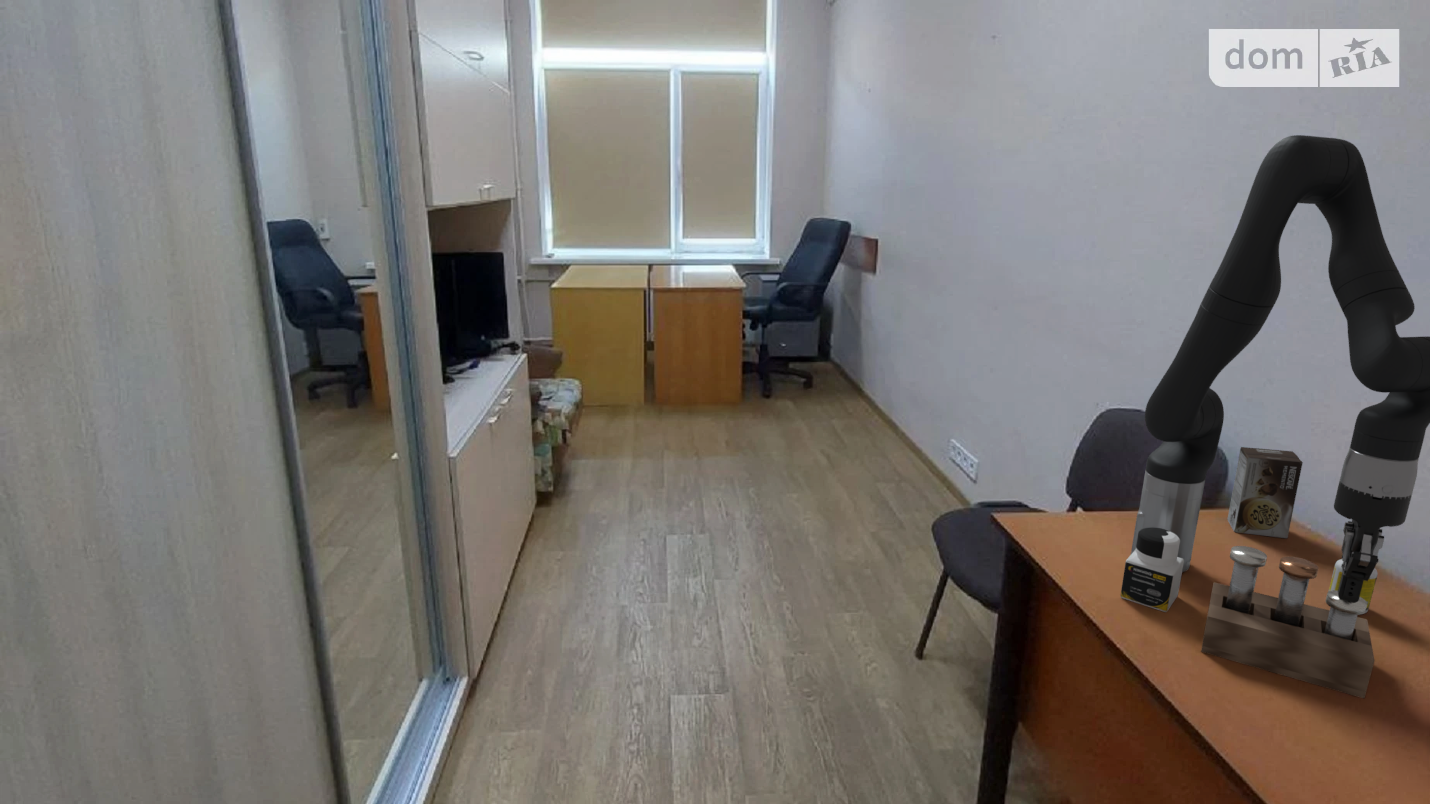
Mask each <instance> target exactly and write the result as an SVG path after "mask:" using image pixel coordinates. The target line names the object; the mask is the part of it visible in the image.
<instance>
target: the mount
mask: <svg viewBox="0 0 1430 804" xmlns="http://www.w3.org/2000/svg"><path fill="white" fill-rule="evenodd" d="M1229 587H1230V585H1227V584H1222V583H1217V582H1216V581H1215V582H1213V585H1212V590H1211V594H1210V599H1209V600H1210V601H1209V605H1208V609H1207V614H1206V615H1207V616H1206V621H1205V627H1204V632H1203V633H1204V634H1203V636H1202V637H1203V638H1202V644H1201V649H1200V652H1202V653H1205V654H1208V655H1212V656H1215V657H1219V658H1222V659H1226V660H1229V661H1232V662H1236V663H1239V664H1242V665H1247V666H1249V667H1254V668H1256V669H1260V670H1264V671H1267V672H1271V673H1275V674H1278V675H1281V676H1284V677H1289V678H1292V679H1295V680H1298V681H1303V682H1306V683H1309V684H1313V685H1317V686H1319V687H1323V688H1326V689H1329V690H1332V691H1337V692H1340V693H1344V694H1348V695H1350V696H1354V697H1358V698H1361V699H1365V697H1366V693H1367V690H1368V686H1369V682H1370V679H1371V676H1372V675H1371V674H1372V671H1373V667H1374V664H1375V655H1374V651H1373V650H1374V649H1373V645H1372V639H1371V638H1372V637H1371V635H1370V634H1371V633H1370V628H1369V623H1368V619H1366V618H1363V617H1358V616H1357V619H1356V623H1355V627H1354V631H1353V635H1352V638H1351V640H1347V639H1343V638H1339V637H1335V636H1331V635H1327V634H1324V632H1325V628H1326V624H1327V620H1328V616H1329V612H1330V609H1325V608H1321V607H1319V606H1318V607H1317V606H1314V605H1309V604H1305V603H1304V605H1303V609H1302V614H1301V618H1300V622H1299V627H1296V626H1292V625H1289V624H1285V623H1281V622H1277V621H1273V619H1274V615H1275V610H1276V606H1277V601H1278V596H1277V597H1276V596H1273V595H1268V594H1263V593H1260V592H1255V591H1254V592H1253V597H1252V602H1251V607H1250V611H1249V614H1246V613H1242V612H1238V611H1234V610H1230V609H1226V608H1225V607H1226V602H1227V597H1228V592H1229Z"/></svg>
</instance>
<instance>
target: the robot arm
mask: <svg viewBox="0 0 1430 804" xmlns="http://www.w3.org/2000/svg"><path fill="white" fill-rule="evenodd" d="M1366 168H1367V167H1366V164H1365V161H1364V158H1363V156H1362V154H1361V152H1360V151H1359V149H1358V147H1356V145H1355V144H1354V143H1352V142H1350V141H1348V140H1346V139H1341V138H1337V137H1326V136H1313V135H1305V134H1304V135H1302V134H1301V135H1298V134H1297V135H1289V136H1286V137H1284V138H1282V139H1281V140H1279V141H1278V142H1276V143H1274V145H1273V146H1272V147H1271V148H1270V150H1268V152H1267V153H1266V155H1265V156H1264V158H1263V160H1262V161H1261V164H1260V166H1259V167H1258V170H1257V172H1256V175H1255V178H1254V181H1253V183H1252V185H1251V188H1250V191H1249V194H1248V197H1247V199H1246V203H1245V204H1244V205H1245V206H1244V208H1243V211H1242V213H1241V216H1240V219H1239V221H1238V225H1237V227H1236V229H1235V231H1234V234H1233V236H1232V238H1231V241H1230V243H1229V245H1228V247H1227V249H1226V252H1225V254H1224V256H1223V258H1222V261H1221V263H1220V264H1219V267H1218V268H1217V271H1216V273H1215V274H1214V277H1213V278H1212V280H1211V282H1210V283H1209V285H1208V288H1207V290H1206V292H1205V294H1204V296H1203V298H1202V299H1201V300H1202V301H1201V303H1200V305H1199V307H1198V309H1197V312H1196V315H1195V316H1194V318H1193V321H1192V322H1191V324H1190V327H1189V328H1188V330H1187V332H1186V334H1185V336H1184V337H1183V340H1182V342H1181V345H1180V347H1179V349H1178V351H1177V353H1176V355H1175V357H1174V358H1173V360H1172V362H1171V363H1170V365H1169V367H1168V368H1167V370H1166V371H1165V372H1164V375H1163V377H1162V378H1161V379H1160V380H1159V383H1158V384H1157V386H1156V387H1155V389H1154V390H1153V392H1152V394H1151V395H1150V397H1149V398H1148V401H1147V403H1146V405H1145V406H1146V407H1145V410H1144V411H1145V412H1144V422H1145V426H1146V429H1147V430H1148V432H1149V434H1150V435H1151V436H1152V437H1154V438H1155V439H1156V440H1159V441H1161V444H1160V445H1158V447H1157V448H1156V449H1154V450H1153V451H1152V452H1151V453H1150V454H1149V455H1148V457H1147V459H1146V466H1145V471H1144V472H1145V473H1144V478H1143V483H1142V484H1143V485H1142V490H1141V496H1140V503H1139V509H1138V511H1137V513H1136V518H1135V519H1136V520H1135V526H1134V532H1133V539H1132V545H1131V552H1130V555H1131V554H1132V553H1133V552H1134V551H1135V549H1136V544H1137V538H1138V532H1139V531H1140V530H1141V529H1143V528H1150V527H1155V528H1162V529H1165V530H1168V531H1170V532H1172V533H1174V534H1176V535H1177V536H1178V537H1179V539H1180V544H1179V550H1178V556H1177V557H1179V558H1183V559H1184V564H1183V569H1182V573H1185V572H1187V571H1188V570H1189V568H1190V565H1191V560H1192V554H1193V548H1194V544H1195V537H1196V533H1197V526H1198V523H1199V515H1200V511H1201V505H1202V500H1203V493H1204V487H1205V483H1206V478H1207V473H1208V471H1209V469H1210V468H1211V467H1212V466H1213V463H1214V461H1215V458H1216V456H1217V452H1218V446H1219V442H1220V438H1221V434H1222V431H1223V426H1224V420H1225V419H1224V418H1225V413H1224V409H1225V408H1224V404H1223V401H1222V399H1221V398H1220V396H1219V394H1218V393H1217V392H1216V391H1215V390H1213V389H1212V388H1211V386H1212V384H1213V383H1214V381H1215V380H1216V378H1217V377H1218V376H1219V374H1220V373H1221V372H1222V371H1223V370H1224V369H1225V368H1226V367H1227V366H1228V365H1229V364H1230V362H1232V361H1233V360H1234V359H1236V357H1237V356H1238V355H1239V354H1240V353H1241V352H1242V351H1243V350H1244V349H1245V348H1246V347H1247V346H1248V345H1249V344H1250V343H1251V342H1253V340H1254V339H1255V338H1256V337H1257V335H1258V334H1259V332H1260V331H1261V330H1262V328H1263V326H1264V324H1265V323H1266V321H1267V319H1268V317H1269V316H1270V315H1271V312H1272V310H1273V309H1274V306H1275V304H1276V303H1277V300H1278V298H1279V296H1280V292H1281V289H1282V288H1281V287H1282V270H1281V262H1280V242H1281V239H1282V235H1283V232H1284V230H1285V228H1286V226H1287V224H1288V222H1289V220H1290V218H1291V216H1292V213H1293V211H1294V210H1295V209H1296V207H1297V206H1298V204H1305V205H1306V204H1307V205H1309V204H1310V205H1315V206H1316V208H1317V209H1318V210H1319V211H1320V213H1321V214H1322V216H1323V217H1324V218H1325V220H1326V222H1327V224H1328V226H1329V230H1330V233H1331V245H1330V251H1329V252H1330V253H1329V259H1328V268H1327V269H1328V278H1329V282H1330V286H1331V288H1332V291H1333V293H1334V295H1335V296H1334V297H1335V298H1336V300H1337V302H1338V305H1339V307H1340V309H1341V311H1342V313H1343V315H1344V317H1345V319H1346V322H1347V326H1346V327H1347V338H1348V341H1347V342H1348V349H1349V350H1348V353H1349V362H1350V367H1351V370H1352V373H1353V374H1354V376H1355V377H1356V379H1357V380H1358V382H1359V383H1360V384H1362V385H1363V386H1364V387H1366V388H1367V389H1369V390H1370V391H1373V392H1377V393H1387V395H1386V397H1385V398H1384V399H1383V400H1382V401H1381V402H1378V403H1376V404H1373V405H1370V406H1367V407H1365V408H1362V409H1361V410H1360V411H1359V413H1358V415H1357V417H1356V420H1355V423H1354V428H1353V432H1352V436H1351V441H1350V446H1349V449H1348V452H1347V454H1346V456H1345V458H1344V460H1343V464H1342V469H1341V473H1340V477H1339V481H1338V485H1337V490H1336V493H1335V494H1336V495H1335V499H1334V503H1333V509H1334V511H1335V512H1336V513H1337V514H1339V515H1340V516H1341V517H1344V518H1345V519H1348V521H1347V522H1346V521H1345V522H1344V526H1343V530H1342V531H1343V534H1344V536H1343V539H1342V540H1343V541H1342V545H1341V548H1340V549H1341V559H1342V561H1343V564H1342V565H1341V567H1342V577H1341V581H1340V585H1339V589H1338V596H1339V598H1340V599H1343V600H1347V601H1351V602H1358V600H1359V597H1360V593H1361V589H1362V585H1363V581H1368V579H1370V576H1371V574H1372V572H1373V570H1374V568H1375V569H1376V565H1377V564H1378V563H1379V561H1380V560H1379V556H1378V555H1379V551H1380V550H1382V548H1383V546H1384V542H1385V535H1382V534H1383V528H1386V527H1389V528H1392V527H1393V528H1394V527H1398V526H1401V525H1403V524H1405V521H1406V519H1407V515H1408V510H1409V507H1410V503H1411V500H1412V495H1413V492H1414V489H1415V485H1416V481H1417V477H1418V467H1419V466H1418V465H1419V464H1418V463H1419V459H1420V455H1421V451H1422V447H1423V443H1424V440H1425V436H1426V431H1427V428H1428V426H1429V425H1430V336H1400V335H1399V333H1398V331H1397V325H1400V324H1401V323H1404V322H1406V321H1407V320H1408V319H1409V318H1411V317H1412V316H1413V314H1414V313H1415V303H1414V300H1413V298H1412V297H1413V296H1412V294H1411V293H1410V291H1409V289H1408V287H1407V285H1406V283H1405V281H1404V279H1403V276H1402V275H1401V273H1400V271H1399V269H1398V267H1397V265H1396V263H1395V261H1394V259H1393V257H1392V255H1391V252H1390V250H1389V248H1388V245H1387V243H1386V240H1385V237H1384V234H1383V230H1382V226H1381V223H1380V220H1379V216H1378V212H1377V207H1376V203H1375V200H1374V196H1373V193H1372V189H1371V188H1372V187H1371V183H1370V179H1369V177H1368V172H1367V169H1366ZM1350 520H1351V521H1350Z"/></svg>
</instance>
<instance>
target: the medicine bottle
mask: <svg viewBox="0 0 1430 804" xmlns="http://www.w3.org/2000/svg"><path fill="white" fill-rule="evenodd" d="M1179 544H1180V539H1179V537H1178V536H1177V535H1176V534H1174V533H1172V532H1170V531H1168V530H1165V529H1162V528H1155V527H1150V528H1143V529H1141V530H1140V531H1139V532H1138V538H1137V544H1136V549H1135V551H1134V552H1133V553H1132V554H1131V553H1130V555H1129V556H1128V558H1126V560H1125V564H1124V571H1123V577H1122V583H1121V589H1120V590H1121V591H1120V594H1119V595H1120V598H1121V599H1123V600H1127V601H1129V602H1132V603H1135V604H1138V605H1142V606H1145V607H1148V608H1151V609H1155V610H1158V611H1161V612H1163V613H1167V612H1168V611H1169V610H1170V608H1171V607H1172V605H1173V603H1174V602H1175V600H1176V599H1177V597H1178V595H1179V591H1180V586H1181V579H1182V573H1183V572H1182V569H1183V564H1184V559H1183V558H1179V557H1177V556H1178V550H1179Z"/></svg>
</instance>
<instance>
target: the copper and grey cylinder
mask: <svg viewBox="0 0 1430 804" xmlns="http://www.w3.org/2000/svg"><path fill="white" fill-rule="evenodd" d="M1278 568H1279V571H1281V572H1282V573H1283V575H1282V580H1281V582H1280V583H1281V584H1280V588H1279V593H1278V596H1277V598H1278V601H1277V606H1276V610H1275V615H1274V619H1273V621H1277V622H1281V623H1285V624H1289V625H1292V626H1296V627H1299V622H1300V618H1301V614H1302V609H1303V605H1304V604H1305V600H1306V595H1307V592H1308V588H1309V584H1310V583H1309V582H1310V580H1311V579H1312V580H1313V579H1316V578H1317V577H1318V572H1319V566H1318V564H1316V563H1314V562H1313V561H1310V560H1309V559H1305V558H1301V557H1299V556H1298V557H1297V556H1283V557H1281V558H1280V560H1279V564H1278Z"/></svg>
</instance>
